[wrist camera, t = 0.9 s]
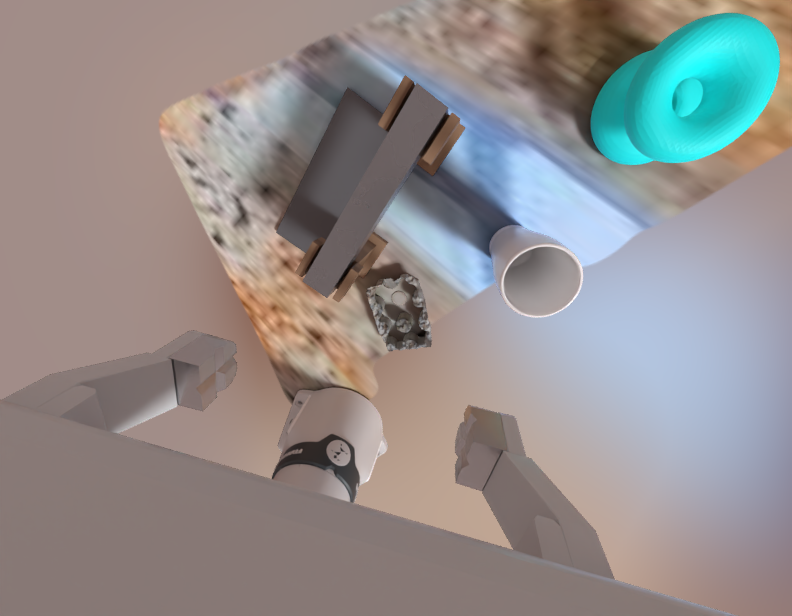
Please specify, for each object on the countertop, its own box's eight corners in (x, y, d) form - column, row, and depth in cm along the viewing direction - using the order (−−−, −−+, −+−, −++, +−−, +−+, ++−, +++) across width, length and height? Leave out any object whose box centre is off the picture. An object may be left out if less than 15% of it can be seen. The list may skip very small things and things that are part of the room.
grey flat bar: (320, 260, 45) (318, 261, 45) (278, 231, 44) (276, 232, 44) (398, 126, 37) (397, 126, 37) (349, 88, 36) (347, 87, 36)
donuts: (758, -36, 21) (815, 94, 23) (666, 27, 30) (712, 116, 32) (610, 86, 25) (670, 188, 27) (567, 109, 34) (615, 184, 36)
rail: (336, 288, 35) (327, 298, 33) (314, 272, 35) (302, 281, 32) (448, 114, 27) (448, 107, 25) (420, 92, 27) (416, 82, 24)
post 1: (364, 276, 45) (336, 311, 34) (329, 251, 44) (288, 278, 33) (388, 242, 43) (365, 267, 31) (351, 215, 42) (314, 231, 31)
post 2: (433, 176, 39) (425, 177, 27) (392, 145, 38) (368, 133, 27) (464, 129, 36) (471, 108, 25) (422, 95, 36) (409, 59, 24)
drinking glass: (473, 235, 40) (485, 266, 27) (525, 207, 38) (567, 226, 25) (496, 279, 42) (517, 330, 29) (547, 256, 40) (596, 298, 26)
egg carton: (370, 277, 45) (362, 287, 42) (421, 269, 44) (418, 277, 40) (386, 343, 49) (381, 356, 45) (434, 337, 47) (433, 351, 44)
